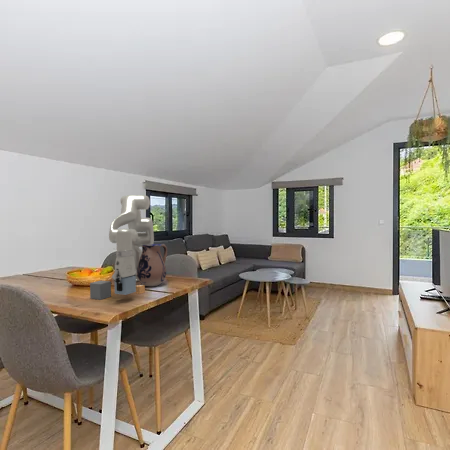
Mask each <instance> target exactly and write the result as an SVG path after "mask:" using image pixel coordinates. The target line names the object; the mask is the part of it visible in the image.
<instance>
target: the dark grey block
mask: <svg viewBox="0 0 450 450" xmlns="http://www.w3.org/2000/svg"><path fill="white" fill-rule="evenodd" d="M89 293H90V294H89V297H90V299H91V300H99V301H101V300H105V299H107V298H108V299H109V298H111V297H112V281H109V280H108V281H107V280H98V281H93V282H90V283H89Z"/></svg>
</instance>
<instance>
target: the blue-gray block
mask: <svg viewBox="0 0 450 450" xmlns="http://www.w3.org/2000/svg"><path fill="white" fill-rule="evenodd" d="M119 280H120V278H119ZM113 281H114V280H113ZM121 283H122V291H117V283H115V281H114V294H115V295H121V296H122V295H125V296H126V295H129V294H130V295H131V294H133V293H134V292H136V286H137V281H136V276H130V277H125V278H122V282H121Z"/></svg>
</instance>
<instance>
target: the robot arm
mask: <svg viewBox="0 0 450 450" xmlns="http://www.w3.org/2000/svg"><path fill="white" fill-rule="evenodd" d="M120 204H121V209H120V214H119V215H117V216H116V218H114V219H113V220H112V221H111V223H110V226H109V233H108V239H109V242H111V243H112V244H116V253H115V255H116V258H115V263H114V264H115V265H114V273H113V274H112V276H111V278H112V279H113V281H115V282H114V284H115V283H117V291H122V283H121V282H122V278H125V277H130V276H136V282H140V281H139V280H138V277H137V268H138V263H139V260H140V256H141V254H142V245H149V244H155V243H154V242H155V241H154V240H155V235H154V234H155V233H154V223H153V219H152V218H150V217H142V215H141V214H142V212H141V210H149V208H150V206H151V205H150V204H151V201H150V197H149V196H148V195H144V194H140V195H138V194H129V195H123V196H121V197H120ZM126 225H127V228H121V227H123V226H126ZM119 278H120V280H119Z"/></svg>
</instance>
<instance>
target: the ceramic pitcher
mask: <svg viewBox="0 0 450 450" xmlns="http://www.w3.org/2000/svg"><path fill="white" fill-rule="evenodd" d="M161 248H163V250H164V252H163V255H162V252H161ZM141 250H142V254H141V256H140V260H139V263H138V268H137V277H138V280H139V281H138V282H139V283H141V284H140V285H145V287H157V286H160V285H161V284H162V283H163V282H164V281H165V279H166V276H167V268H166V265H165V264H166V261H167V257H168V247H167V245H166V244H165V243H153V244H149V245H142V247H141Z"/></svg>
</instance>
